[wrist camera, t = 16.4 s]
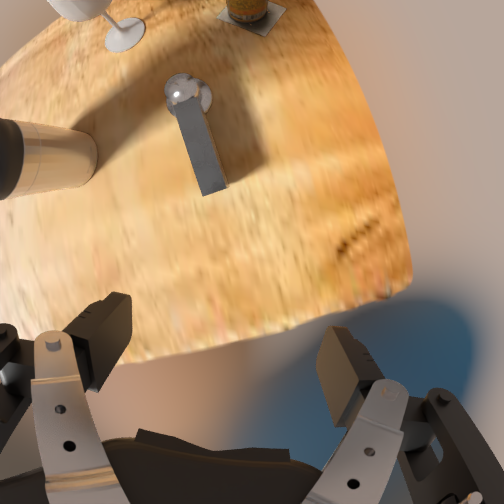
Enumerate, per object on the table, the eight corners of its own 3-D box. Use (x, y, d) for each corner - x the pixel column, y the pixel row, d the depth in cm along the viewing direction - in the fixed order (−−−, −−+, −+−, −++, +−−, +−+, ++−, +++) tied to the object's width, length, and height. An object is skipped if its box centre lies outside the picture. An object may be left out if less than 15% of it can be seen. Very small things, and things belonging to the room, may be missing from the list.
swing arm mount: (164, 119, 36) (162, 117, 35) (173, 79, 34) (171, 77, 33) (208, 123, 36) (206, 121, 35) (216, 82, 35) (215, 79, 33)
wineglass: (144, 11, 30) (93, -59, 10) (147, 43, 32) (88, -27, 12) (103, 28, 30) (39, -27, 10) (105, 60, 32) (29, 9, 12)
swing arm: (170, 91, 33) (160, 80, 28) (197, 80, 33) (191, 68, 28) (205, 195, 37) (198, 197, 33) (233, 185, 37) (230, 186, 32)
